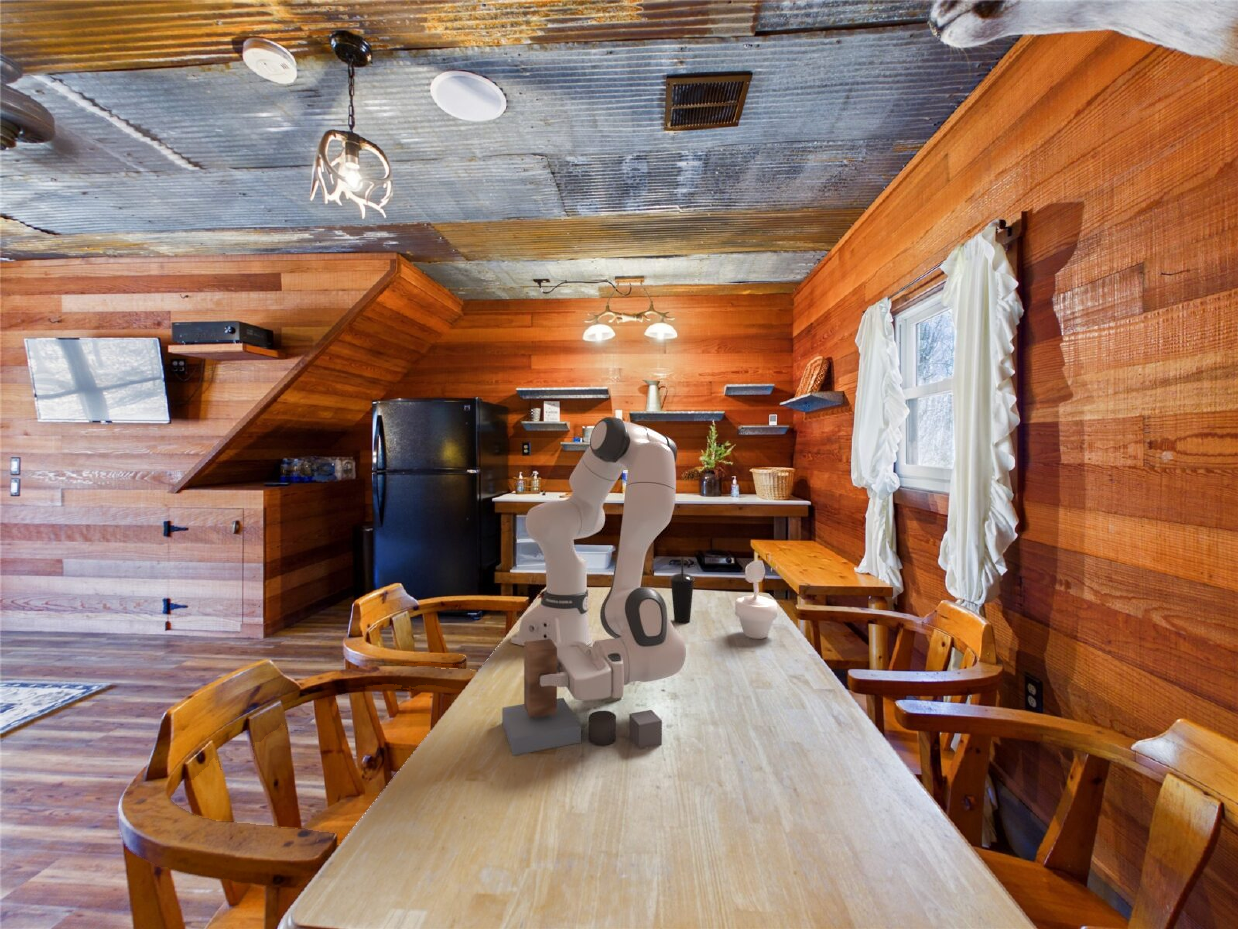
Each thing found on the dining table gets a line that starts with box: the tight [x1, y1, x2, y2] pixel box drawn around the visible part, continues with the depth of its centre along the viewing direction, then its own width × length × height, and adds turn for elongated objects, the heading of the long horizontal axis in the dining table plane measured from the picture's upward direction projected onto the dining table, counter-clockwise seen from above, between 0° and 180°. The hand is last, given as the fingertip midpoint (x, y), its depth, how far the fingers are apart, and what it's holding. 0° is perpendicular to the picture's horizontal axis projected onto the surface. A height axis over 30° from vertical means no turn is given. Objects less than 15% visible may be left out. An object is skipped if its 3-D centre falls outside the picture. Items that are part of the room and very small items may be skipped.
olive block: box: [600, 696, 622, 704], centre depth 115 cm, size 4×4×5 cm
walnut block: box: [523, 639, 558, 718], centre depth 100 cm, size 5×5×12 cm
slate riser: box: [501, 697, 582, 756], centre depth 100 cm, size 12×12×3 cm
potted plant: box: [734, 554, 779, 640], centre depth 155 cm, size 13×12×25 cm
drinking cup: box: [669, 556, 696, 624], centre depth 168 cm, size 8×8×20 cm
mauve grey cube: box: [628, 709, 663, 750], centre depth 97 cm, size 4×4×4 cm
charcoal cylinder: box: [587, 710, 617, 747], centre depth 98 cm, size 5×5×4 cm
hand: (535, 673), depth 100 cm, fingers open, 5 cm apart
